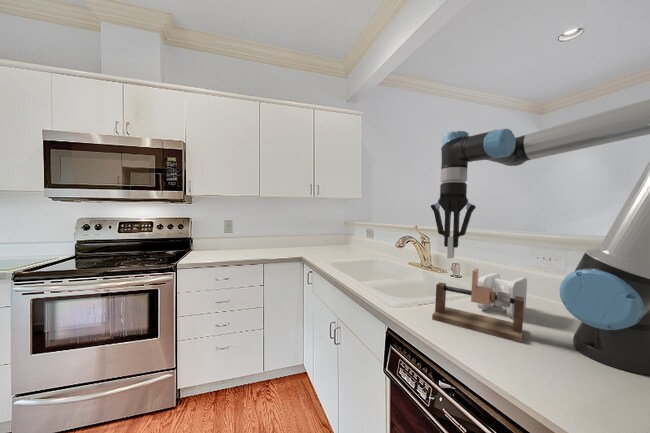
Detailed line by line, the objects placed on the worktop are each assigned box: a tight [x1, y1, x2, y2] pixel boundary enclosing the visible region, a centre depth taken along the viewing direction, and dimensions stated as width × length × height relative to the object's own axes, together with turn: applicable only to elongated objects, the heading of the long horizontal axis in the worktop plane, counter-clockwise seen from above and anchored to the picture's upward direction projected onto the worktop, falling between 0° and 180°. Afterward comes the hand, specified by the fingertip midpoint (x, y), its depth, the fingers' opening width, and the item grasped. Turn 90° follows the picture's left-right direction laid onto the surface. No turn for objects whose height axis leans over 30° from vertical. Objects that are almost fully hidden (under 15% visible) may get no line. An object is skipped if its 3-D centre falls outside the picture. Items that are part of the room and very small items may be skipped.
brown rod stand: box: [431, 281, 524, 344], centre depth 79 cm, size 22×10×10 cm, turn 53°
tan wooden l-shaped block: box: [470, 268, 491, 305], centre depth 78 cm, size 4×4×9 cm
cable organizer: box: [476, 272, 528, 319], centre depth 91 cm, size 15×11×12 cm
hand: (450, 257), depth 85 cm, fingers closed
